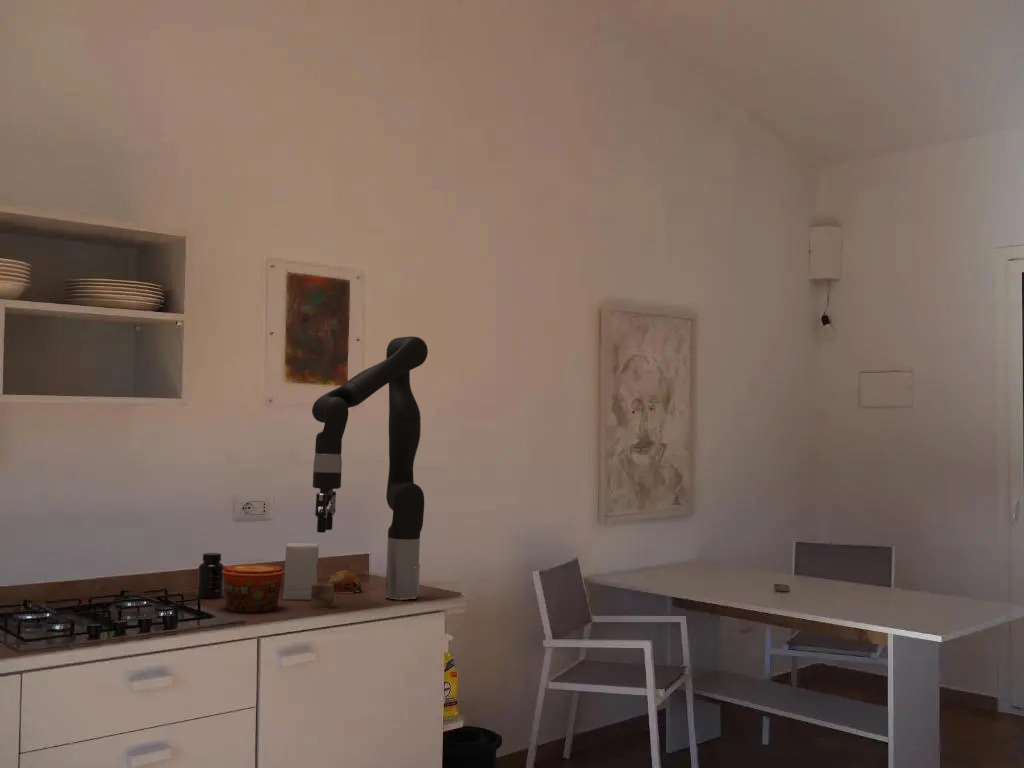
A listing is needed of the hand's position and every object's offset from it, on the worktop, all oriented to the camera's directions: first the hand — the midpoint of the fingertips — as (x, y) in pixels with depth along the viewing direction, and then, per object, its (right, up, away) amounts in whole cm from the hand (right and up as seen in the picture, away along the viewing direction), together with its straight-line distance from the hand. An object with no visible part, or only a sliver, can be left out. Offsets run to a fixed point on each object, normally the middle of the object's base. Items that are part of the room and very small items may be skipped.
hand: (324, 531), depth 267 cm
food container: (-18, -19, -8) cm, 27 cm away
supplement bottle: (-33, -20, +8) cm, 40 cm away
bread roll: (+1, -22, +27) cm, 35 cm away
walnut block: (0, -20, -1) cm, 20 cm away
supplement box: (-9, -21, +13) cm, 26 cm away
